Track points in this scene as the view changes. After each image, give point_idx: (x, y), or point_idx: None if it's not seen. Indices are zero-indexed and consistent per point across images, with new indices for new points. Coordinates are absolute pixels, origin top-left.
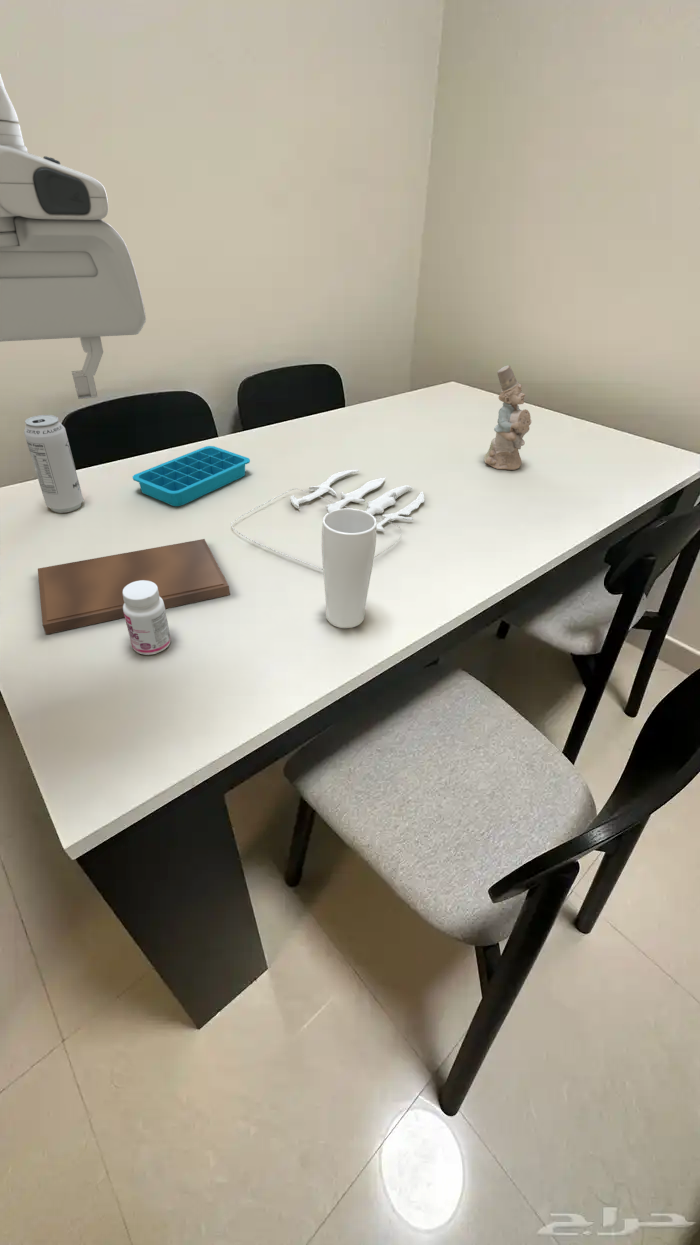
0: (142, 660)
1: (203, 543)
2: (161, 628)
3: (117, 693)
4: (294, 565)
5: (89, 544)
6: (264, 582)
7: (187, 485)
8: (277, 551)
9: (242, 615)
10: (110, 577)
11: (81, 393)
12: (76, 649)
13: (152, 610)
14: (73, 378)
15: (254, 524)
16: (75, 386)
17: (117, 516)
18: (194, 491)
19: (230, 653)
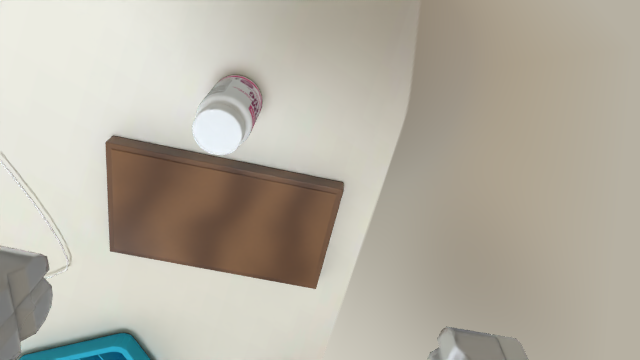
0: (258, 74)
1: (113, 242)
2: (216, 87)
3: (305, 31)
4: (3, 147)
5: (248, 311)
6: (57, 135)
7: (98, 355)
8: (17, 183)
9: (108, 85)
10: (245, 233)
11: (11, 257)
12: (322, 138)
13: (215, 99)
14: (7, 342)
15: None
16: (31, 321)
17: (202, 345)
18: (95, 346)
19: (148, 18)
